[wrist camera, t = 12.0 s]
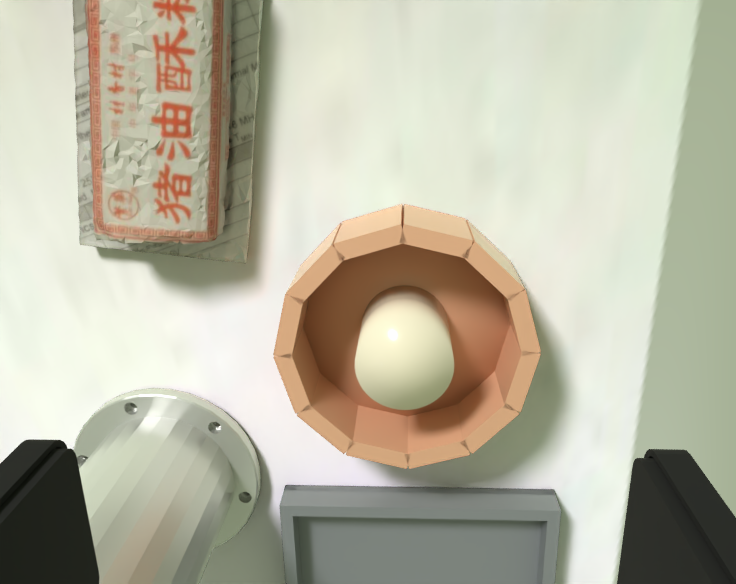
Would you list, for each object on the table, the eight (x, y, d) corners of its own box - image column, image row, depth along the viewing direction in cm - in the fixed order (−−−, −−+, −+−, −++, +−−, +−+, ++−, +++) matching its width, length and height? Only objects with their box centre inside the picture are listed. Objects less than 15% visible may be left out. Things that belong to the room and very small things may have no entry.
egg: (406, 381, 41) (405, 427, 35) (344, 326, 40) (334, 366, 34) (466, 325, 39) (475, 365, 34) (403, 267, 38) (402, 299, 33)
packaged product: (31, -117, 30) (249, -91, 29) (80, -93, 34) (270, -71, 34) (50, 262, 36) (231, 285, 35) (90, 239, 40) (251, 260, 40)
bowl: (408, 459, 43) (408, 507, 39) (246, 323, 41) (225, 356, 36) (570, 318, 39) (592, 352, 35) (402, 157, 37) (401, 170, 32)
